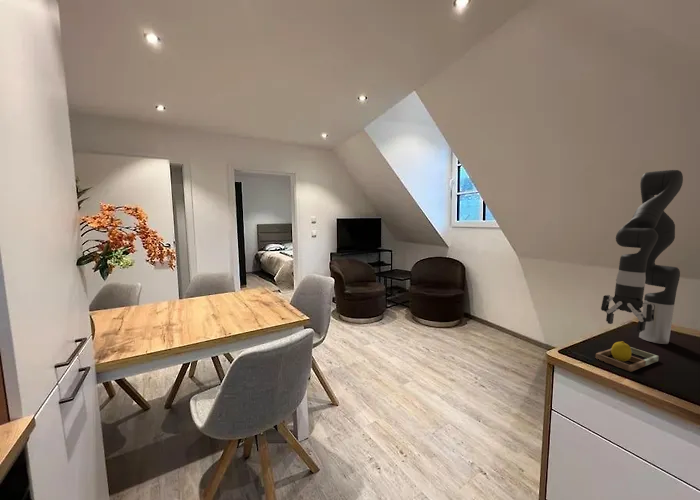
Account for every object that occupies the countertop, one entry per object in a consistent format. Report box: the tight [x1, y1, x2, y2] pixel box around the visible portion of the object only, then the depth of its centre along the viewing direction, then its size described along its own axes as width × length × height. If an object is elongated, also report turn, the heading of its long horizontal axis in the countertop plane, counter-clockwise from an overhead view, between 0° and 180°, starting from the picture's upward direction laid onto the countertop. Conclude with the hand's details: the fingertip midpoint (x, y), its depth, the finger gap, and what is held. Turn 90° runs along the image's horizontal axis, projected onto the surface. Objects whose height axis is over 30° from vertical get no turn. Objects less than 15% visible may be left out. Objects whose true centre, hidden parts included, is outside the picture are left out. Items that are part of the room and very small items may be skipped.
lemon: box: [610, 340, 633, 363], centre depth 110 cm, size 6×6×8 cm
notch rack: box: [595, 346, 660, 373], centre depth 112 cm, size 20×11×2 cm, turn 115°
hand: (624, 327), depth 108 cm, fingers open, 8 cm apart
